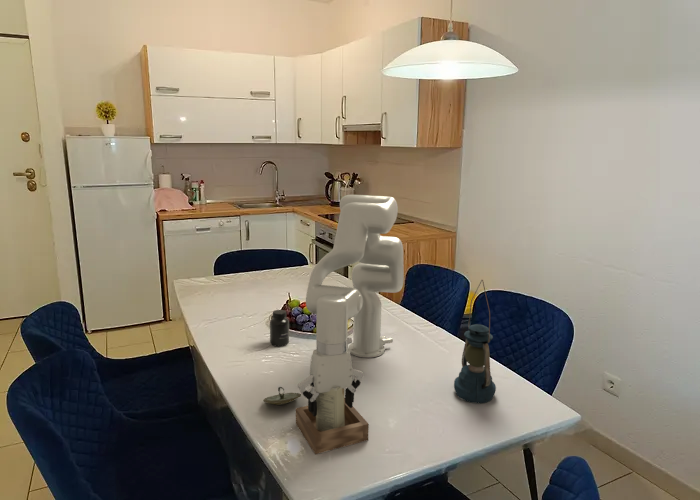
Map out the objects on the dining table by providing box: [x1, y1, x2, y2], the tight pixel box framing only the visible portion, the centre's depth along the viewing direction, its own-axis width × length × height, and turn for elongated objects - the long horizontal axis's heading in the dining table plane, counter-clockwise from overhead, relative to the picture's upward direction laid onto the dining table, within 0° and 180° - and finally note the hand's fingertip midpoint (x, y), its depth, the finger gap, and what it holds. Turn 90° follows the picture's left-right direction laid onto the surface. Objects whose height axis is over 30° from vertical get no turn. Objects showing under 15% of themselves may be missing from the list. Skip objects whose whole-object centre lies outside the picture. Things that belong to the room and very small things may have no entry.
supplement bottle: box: [269, 309, 290, 347], centre depth 180 cm, size 7×7×12 cm
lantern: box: [453, 279, 497, 404], centre depth 143 cm, size 14×12×35 cm
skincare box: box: [315, 387, 345, 431], centre depth 126 cm, size 6×4×12 cm
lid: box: [263, 386, 302, 406], centre depth 139 cm, size 11×10×5 cm
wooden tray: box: [295, 396, 370, 455], centre depth 127 cm, size 14×14×4 cm
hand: (331, 409), depth 126 cm, fingers open, 9 cm apart
